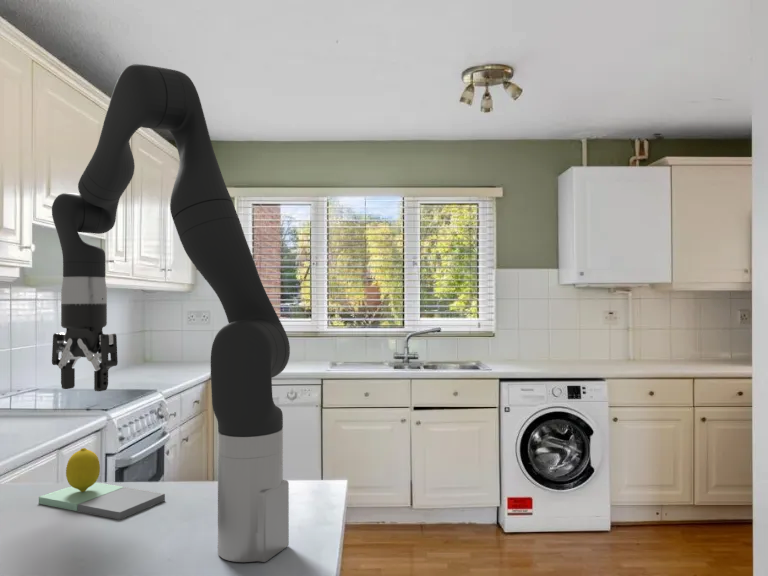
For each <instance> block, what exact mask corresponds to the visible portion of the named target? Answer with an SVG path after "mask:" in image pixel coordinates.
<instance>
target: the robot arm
mask: <svg viewBox="0 0 768 576" xmlns="http://www.w3.org/2000/svg"><path fill="white" fill-rule="evenodd" d="M141 128H144V129H157V130H167V131H169V132H170V133H171V135H172V137H173V139H174V142H175V145H176V148H177V153H178V158H179V163H178V170H177V175H176V178H175V180H174V183H173V187H172V191H171V196H170V203H169V204H170V205H169V207H170V208H169V210H170V215H171V218H172V221H173V224H174V227H175V228H176V232H177V235H178V237H179V240H180V242H181V245H182V247H183V249H184V251H185V253H186V255H187V257H188V258H189V260H190V261H191V263H192V264H193V265H194V267H195V268H196V270H197V271H198V272H199V273H200V274H201V276H202V277H203V279H204V280H205V281H206V282H207V283H208V284H209V286H210V287H211V289H212V290H213V291H214V292H215V295H216V296H217V297H218V299H219V302H220V304H221V306H222V308H223V310H224V313H225V315H226V319H227V322H228V323H227V324H225V325H224V326H223V327H221V328H220V329H219V331H218V332H217V333H216V334H215V337H214V339H213V341H212V342H213V343H212V345H211V350H210V351H211V352H210V380H211V381H210V383H211V384H210V385H211V387H210V389H211V404H212V411H213V414H214V415H215V418H216V420H217V555H218V556H219V557H220V558H222V559H223V560H226V561H229V562H232V563H233V562H234V563H251V562H253V563H254V562H261V563H266V562H267V561H269V560H271V558H273V557H274V556H276V555H277V554H279V553H280V552H282V551H283V550H284V549H286V548H287V547H289V546H290V545H289V535H290V533H289V531H290V529H289V527H290V525H289V524H290V523H289V521H290V516H289V515H290V513H289V510H290V507H289V505H290V504H289V503H290V502H289V499H290V497H289V492H290V491H289V490H290V488H289V481H288V480H287V479H284V473H283V472H284V467H283V465H284V464H283V461H284V460H283V458H284V456H283V453H284V450H283V449H284V440H283V439H284V438H283V437H284V434H283V433H284V429H283V428H284V416H283V411H282V409H281V408H280V407H279V406H278V405H276V404H275V401H274V398H273V383H272V382H273V381H272V379H273V378H275V377H277V376H279V374H281V373H282V372H283V371H284V370H285V369H286V367H287V365H288V363H289V360H290V354H291V346H290V342H289V337H288V335H287V333H286V332H287V331H286V330H285V328H284V326H283V323H282V322H281V320H280V318H279V316H278V314H277V312H276V309H275V308H274V306H273V304H272V302H271V300H270V298H269V296H268V294H267V292H266V289H265V287H264V285H263V283H262V280H261V277H260V274H259V272H258V268H257V267H256V262H255V260H254V258H253V255H252V252H251V249H250V247H249V243H248V241H247V237H246V235H245V233H244V230H243V227H242V224H241V221H240V219H239V215H238V213H237V210H236V208H235V204H234V202H233V199H232V196H231V195H230V193H229V190H228V188H227V185H226V182H225V178H224V177H223V174H222V171H221V168H220V166H219V162H218V159H217V157H216V156H217V155H216V154H215V151H214V147H213V143H212V141H211V136H210V133H209V129H208V125H207V121H206V117H205V113H204V110H203V105H202V102H201V99H200V96H199V92H198V90H197V88H196V86H195V84H194V82H193V81H192V79H191V78H190V77H189V76H188V75H187V74H186V73H184V72H182V71H179V70H177V69H170V68H167V67H161V66H159V67H158V66H154V65H148V64H142V63H141V64H139V63H136V64H135V63H134V64H133V63H132V64H129V65H127V66H126V67H125V68H124V69H123V70H122V71H121V73H120V75H118V78H117V81H116V82H115V85H114V87H113V91H112V94H111V96H110V100H109V104H108V108H107V110H106V112H105V117H104V120H103V125H102V129H101V132H100V136H99V139H98V142H97V146H96V148H95V151H94V153H92V154H93V155H92V156H91V158H90V160H89V162H88V164H87V166H86V167H85V169H84V171H83V173H82V174H81V176H80V178H79V180H78V184H77V189H78V193H76V192H75V193H73V192H64V193H63V192H62V193H60V194H59V195H57V196H56V197H55V198H54V200H53V203H52V204H51V215H52V216H51V217H52V221H53V224H54V228H55V230H56V234H57V236H58V239H59V244H60V247H61V248H60V249H61V253H62V283H61V289H60V290H61V291H60V293H61V294H60V295H61V296H60V297H61V300H60V302H61V303H60V307H61V308H60V314H61V315H60V326H61V327H62V328H63V329H66V330H65V332H58V333H57V332H56V333H53V334H52V335H53V336H52V349H51V350H52V351H51V354H52V355H51V363H52V364H51V365H53V366H58V368H59V369H60V384H61V389H62V390H69V389H70V390H71V389H74V388H75V381H76V380H75V379H76V375H75V374H76V373H75V371H76V369H75V368H74V367H75V365H76V363H77V362H78V360H80V359H81V358H86V360H87V361H89V362H91V364H92V366H93V368H94V372H93V378H94V379H93V381H94V382H93V390H94V391H95V392H103V391H104V392H105V391H107V389H108V386H109V370H110V369H111V368H112V367H116V366H118V339H117V334H116V333H113V332H112V333H103V328H105V327H107V325H108V307H107V305H108V301H107V300H108V293H107V292H108V290H107V289H108V287H107V283H106V252H105V250H104V248H102V247H99V246H97V245H93V244H89V243H87V242H85V241H84V240H82V238H81V236H80V234H79V233H85V234H86V233H87V234H95V235H97V234H98V235H102V234H106V233H107V232H110V231H111V230H112V229H113V228H114V226H115V224H116V219H117V211H118V207H119V202H120V199H121V197H122V195H123V194H124V192H125V191H126V189H127V188H128V186H129V185H130V184H131V181H132V179H133V177H134V174H135V159H134V156H133V155H134V154H133V152H132V149H131V145H130V140H131V139H132V136H133V135H135V133H136V131H138V130H139V129H141ZM60 353H61V356H60ZM109 355H110V359H109ZM59 356H60V357H59Z"/></svg>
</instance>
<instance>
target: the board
mask: <svg viewBox="0 0 768 576" xmlns="http://www.w3.org/2000/svg"><path fill="white" fill-rule="evenodd" d="M165 501H166V493H162V492H157V491H150V490H144V489H139V488H132V487H126V486H121V485H114V484H107V483H102V482H97V481H96V482H95V483H94V484H93V485H92V486H90V487H89V488H87V490H86V491H85V492H81V491H80V490H78V489H75V488H73V487H72V486H71V485H70V486H68V487H64V488H61V489H58V490H55V491H52V492H50V493H47V494H42V495H40V496H38V504H39V505H42V506H43V505H44V506H45V505H46V506H49V507H53V508H55V507H56V508H58V509H65V510H69V511H75V512H79V513H83V514H90V515H95V516H99V517H105V518H110V519H114V520H122V519H125V518H127V517H129V516H132V515H134V514H136V513H139V512H141V511H143V510H146V509H147V508H148V509H149V508H150V507H152V506H155V505H157V504H159V503H162V502H165Z"/></svg>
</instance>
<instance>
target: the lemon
mask: <svg viewBox="0 0 768 576" xmlns="http://www.w3.org/2000/svg"><path fill="white" fill-rule="evenodd" d="M100 472H101V467H100V460H99V457H98V455H97V454H96V453H95V452H94V451H92V450H90V449H87V448H86V447H83V448H81V449H80V450H77V451H76V452H75V453H73V454H72V455H71V456H70V457H69V460H68V461H67V465H66V468H65V476H66V480H67V483H68V484H69V485H70V486H72V487H73V488H75V489H78V490H80V491H81V492H85V491H86V490H87V488H89V487H90V486H92V485H93V484H94V483H95V482H97V481H98V479H99V477H100Z"/></svg>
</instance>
